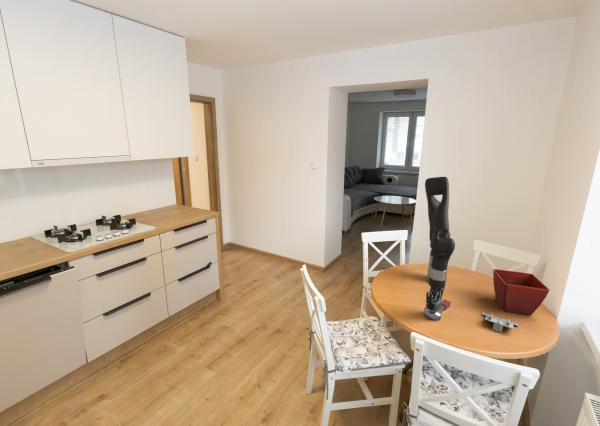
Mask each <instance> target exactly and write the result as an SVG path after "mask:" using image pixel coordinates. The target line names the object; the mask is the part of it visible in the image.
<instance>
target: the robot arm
mask: <svg viewBox="0 0 600 426" xmlns="http://www.w3.org/2000/svg"><path fill="white" fill-rule="evenodd" d="M424 189H425V195H426V196H425V197H426V200H427V217H428V223H429V224H428V225H429V242H430V243H429V247H430V250H429V251H430V253H429V259H428V260H429V261H428V268H427V274H426V281H427V282H428V285H429V286H430V289H429V291H426V293H425V294H426V296H425V297H426V298H425V301H426V302H428V303H429V304H428V309H429V310H433V305H434V300H436V298H437V296H438V297H441V298H443V294H444V290H445V287H446V282H447V275H448V265H449V261H450V259H451V257H452V255H453V253H454V251H455V249H456V242H455V240H454V239H453V238H451V233H450V221H449V207H450V206H449V205H450V182H449V178H448V177H447V176H436V177H429V178H426V179H425V182H424ZM436 196H441V200H438V199H437V198H436ZM432 296H434V297H432ZM432 299H433V301H432ZM426 302H425V303H426Z"/></svg>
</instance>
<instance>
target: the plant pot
mask: <svg viewBox="0 0 600 426" xmlns="http://www.w3.org/2000/svg"><path fill="white" fill-rule="evenodd" d="M492 274H493V276H492V280H493V290H494V296H495V300H496V302H497V303H498V305H500V307H501V309H502V310H503V311H504V312H508V313H515V314H521V315H527V316H532V315H533V314H534V313H535V312H536V311H537V310H538V309H539V307H540V306H541V305H542V304H543V302H544V300H545V299H546V298H547V296H548V294H549V292H550V288H548V286H547V285H545V283H544V282H542V281H541V280H540V279H539V278H538V277H536V276H535V275H534V274H533V273H529V272H523V271H522V272H521V271H515V270H507V269H498V268H497V269H496V268H494V269H493V273H492Z"/></svg>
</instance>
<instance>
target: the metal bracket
mask: <svg viewBox="0 0 600 426" xmlns="http://www.w3.org/2000/svg"><path fill="white" fill-rule="evenodd" d="M482 316H485V318H484V320H486V321H488V322H491V323H493V326H492V330H493V331H496V332H498V333H499V332H500V333H503V327H506V328H508V329H514V326H517V327H519V324H518V323H516V322H512V321H511V319H509V318H508V319H507V320H506V319H504V318H500V317H497V316H494V315H492V314H488V313H485V312H482Z"/></svg>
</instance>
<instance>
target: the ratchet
mask: <svg viewBox="0 0 600 426" xmlns="http://www.w3.org/2000/svg"><path fill="white" fill-rule="evenodd" d="M451 303H452V302H451V301H449V300H447V299H442V301H441V308H440V309H439V310H438V311H436V312H434V311H432V310H429V309H427V308H426V306H425V307H424V308H423V316H424V318H426V319H427V320H430V321H434V322H439V321H440V320H441V319H442V313H443V312H444V311H446V310H448V309H449V308H450V307H451Z"/></svg>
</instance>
